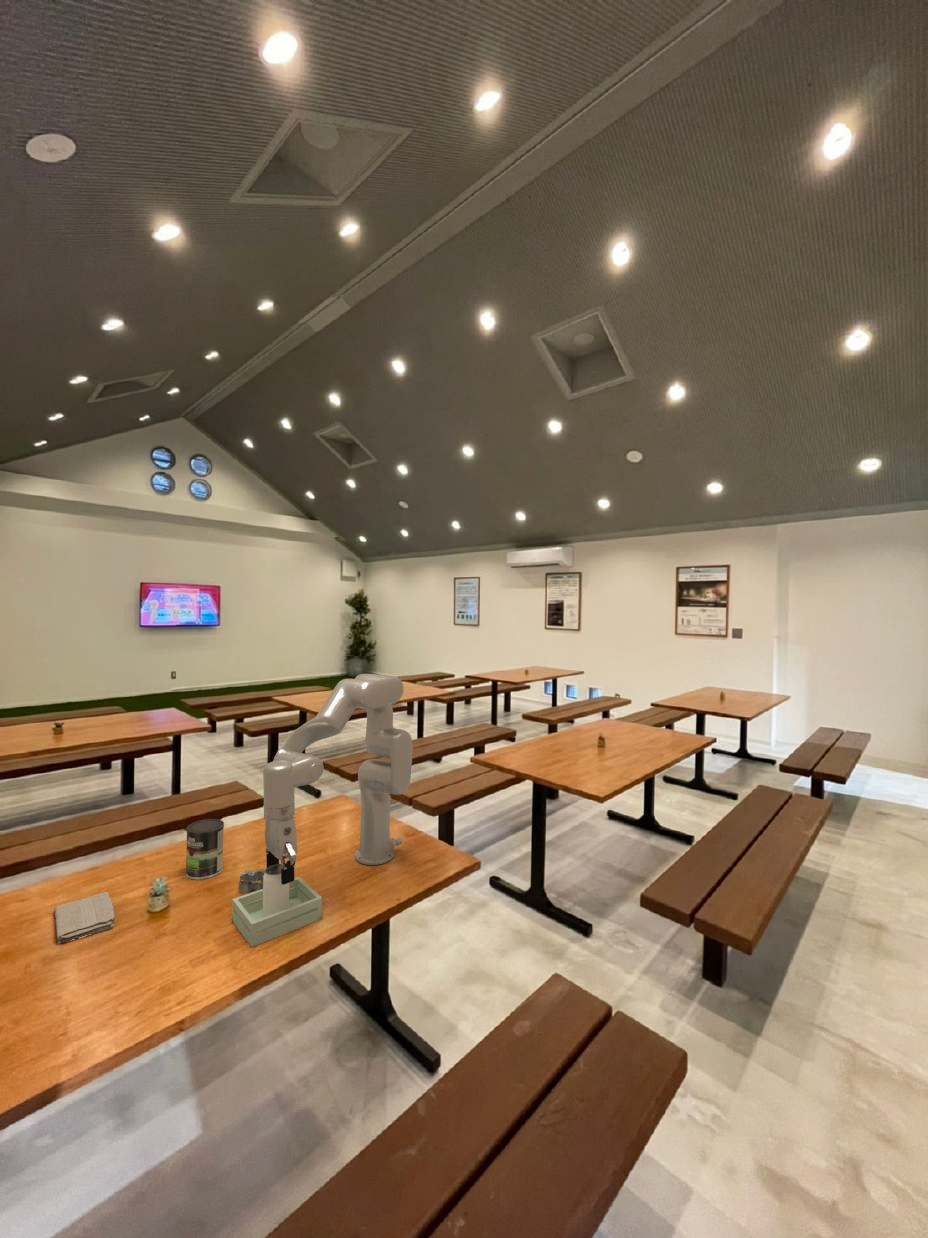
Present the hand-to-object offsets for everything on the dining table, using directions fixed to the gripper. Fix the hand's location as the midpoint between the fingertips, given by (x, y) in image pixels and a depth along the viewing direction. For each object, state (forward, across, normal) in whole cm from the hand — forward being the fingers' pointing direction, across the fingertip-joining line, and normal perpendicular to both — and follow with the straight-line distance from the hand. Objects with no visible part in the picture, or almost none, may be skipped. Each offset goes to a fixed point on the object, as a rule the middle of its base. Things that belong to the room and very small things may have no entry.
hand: (280, 874), depth 136 cm
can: (+11, 0, +1) cm, 11 cm away
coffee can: (+12, +38, +8) cm, 40 cm away
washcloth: (+11, +30, +39) cm, 51 cm away
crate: (+11, 0, +1) cm, 11 cm away
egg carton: (+12, +20, -1) cm, 23 cm away
